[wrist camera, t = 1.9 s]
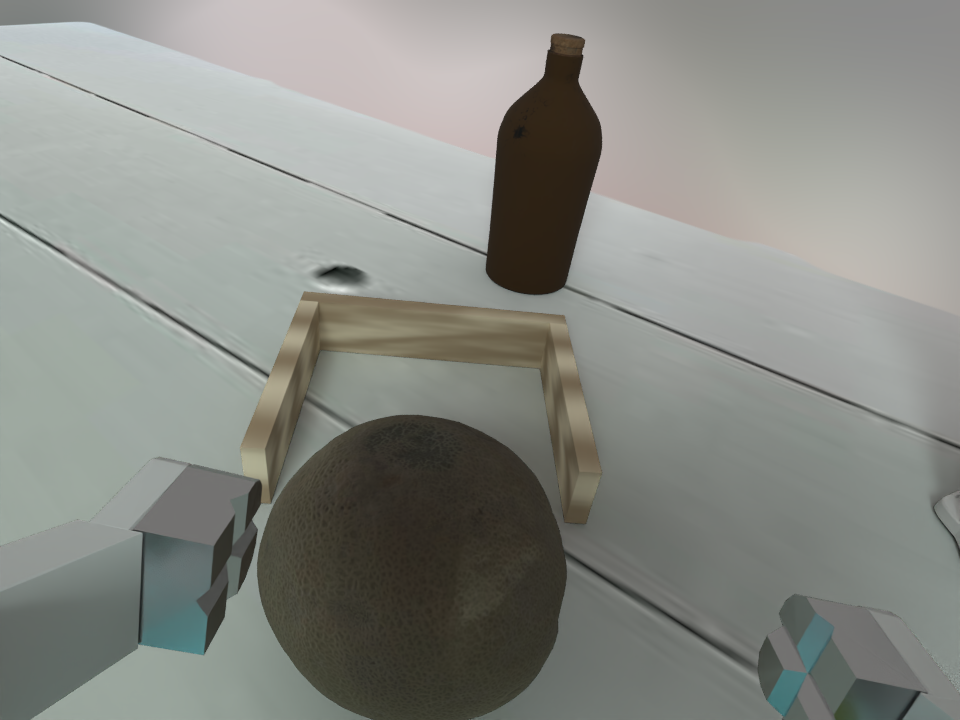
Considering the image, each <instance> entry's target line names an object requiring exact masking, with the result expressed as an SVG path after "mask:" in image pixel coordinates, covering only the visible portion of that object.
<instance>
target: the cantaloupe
mask: <svg viewBox="0 0 960 720" xmlns="http://www.w3.org/2000/svg"><path fill="white" fill-rule="evenodd" d="M257 577H258V585H259V592H260V597H261V602H262V606H263V609H264V612H265V615H266V617H267V620H268V622H269V624H270V626H271V628H272V630H273V632H274V634H275V636H276V638H277V640H278V641H279V643H280V645H281V646H282V648H283V650H284V651H285V652H286V653H287V655H288V656H289V658H290V659H291V661H292V662H293V663H294V665H295V666H296V668H297V669H298V670H299V671H300V672H301V674H302V675H303V676H304V677H305V678H306V679H307V680H308V681H309V682H310V683H311V684H312V685H313V686H314V687H315V688H316V689H317V690H318V691H319V692H320V693H322V694H323V695H324V696H326V697H327V698H328V699H330V700H332V701H333V702H335V703H336V704H338V705H340V706H341V707H343V708H345V709H347V710H349V711H352V712H354V713H356V714H359V715H361V716H364V717H367V718H370V719H373V720H468V719H471V718H475V717H478V716H482V715H485V714H487V713H489V712H492V711H494V710H496V709H497V708H499V707H501V706H503V705H504V704H506V703H508V702H509V701H511V700H512V699H513V698H515V697H516V696H517V695H519V694H520V693H521V692H522V691H523V690H525V689H526V688H527V687H528V686H529V685H530V683H531V682H532V681H533V680H534V679H535V677H536V676H537V675H538V673H539V672H540V670H541V668H542V667H543V665H544V663H545V661H546V660H547V658H548V656H549V654H550V653H551V651H552V649H553V646H554V643H555V641H556V637H557V634H558V617H559V613H560V609H561V604H562V600H563V596H564V592H565V586H566V579H567V569H566V561H565V555H564V550H563V545H562V539H561V535H560V530H559V528H558V525H557V522H556V519H555V517H554V515H553V513H552V510H551V506H550V503H549V501H548V499H547V496H546V494H545V492H544V490H543V488H542V486H541V484H540V483H539V481H538V479H537V477H536V476H535V475H534V473H533V472H532V471H531V470H530V469H529V468H528V466H527V465H526V464H525V463H524V462H523V461H522V460H521V459H520V458H519V457H518V456H517V455H516V454H515V453H514V452H513V451H511V450H510V449H509V448H508V447H506V446H505V445H503V444H502V443H500V442H498V441H497V440H495V439H494V438H492V437H490V436H488V435H486V434H484V433H483V432H481V431H478V430H476V429H474V428H472V427H469V426H467V425H465V424H462V423H460V422H456V421H452V420H448V419H443V418H437V417H430V416H422V415H396V416H390V417H385V418H380V419H376V420H372V421H369V422H366V423H363V424H360V425H357V426H355V427H353V428H351V429H349V430H348V431H346V432H344V433H343V434H341V435H339V436H338V437H336V438H334V439H333V440H332V441H330V442H329V443H328V444H327V445H326V446H324V447H323V448H322V449H321V450H319V451H318V452H316V453H315V454H314V455H313V456H312V457H311V458H310V459H309V460H308V461H307V462H306V463H305V464H304V465H303V466H302V467H301V468H300V469H299V470H298V472H297V473H296V474H295V475H294V476H293V477H292V478H291V479H290V480H289V482H288V483H287V485H286V486H285V487H284V489H283V490H282V492H281V494H280V495H279V497H278V498H277V500H276V502H275V504H274V506H273V508H272V510H271V513H270V515H269V518H268V521H267V524H266V527H265V530H264V533H263V537H262V540H261V543H260V548H259V554H258V562H257Z"/></svg>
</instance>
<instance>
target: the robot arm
mask: <svg viewBox="0 0 960 720" xmlns="http://www.w3.org/2000/svg"><path fill="white" fill-rule="evenodd" d="M261 495H262V483H261V481H260V480H259V479H255V478H251V477H246V476H242V475H238V474H234V473H229V472H225V471H221V470H217V469H212V468H208V467H204V466H199V465H195V464H193V465H192V464H190V463H186V462H181V461H177V460H172V459H167V458H163V457H157V458H153V459H151V460H149V461H148V462H147V463H146V464H145V465H144V466H143V467H142V468H141V469H140V470H139V472H138V473H137V474H136V475H135V476H134V477H133V478H132V479H131V480H130V481H129V482H128V483H127V484H126V485H125V486H124V487H123V488H122V489H121V490H120V491H119V492H118V493H117V494H116V495H115V496H114V497H113V498H112V499H111V500H110V501H109V502H108V503H107V504H106V505H105V506H104V507H103V508H102V509H101V510H100V511H99V512H98V513H97V514H96V515H95V516H94V517H93V518H92V519H91V520H90V521H89V522H88V521H83V520H78V519H77V520H75V521H72V522H69V523H66V524H63V525H60V526H57V527H54V528H51V529H48V530H45V531H43V532H40V533H37V534H34V535H31V536H28V537H25V538H22V539H19V540H16V541H14V542H11V543H8V544H5V545H2V546H0V720H31V719H32V718H34V717H35V716H37V715H38V714H40V713H41V712H43V711H44V710H46V709H47V708H49V707H50V706H52V705H53V704H55V703H56V702H58V701H59V700H61V699H62V698H64V697H65V696H67V695H68V694H70V693H71V692H73V691H74V690H76V689H77V688H79V687H80V686H82V685H83V684H85V683H86V682H88V681H89V680H91V679H92V678H94V677H95V676H97V675H98V674H100V673H101V672H103V671H104V670H106V669H107V668H109V667H110V666H112V665H113V664H115V663H116V662H118V661H119V660H121V659H122V658H124V657H125V656H127V655H128V654H130V653H131V652H133V651H135V650H136V649H138V644H139V645H145V646H151V647H157V648H163V649H169V650H175V651H181V652H187V653H193V654H199V655H204V654H205V652H206V650H207V649H208V647H209V645H210V643H211V641H212V639H213V638H214V636H215V634H216V632H217V630H218V628H219V627H220V625H221V623H222V621H223V619H224V617H225V609H226V600H227V599H229V598H230V597H232V596H234V595H236V594H237V593H238V591H239V589H240V587H241V585H242V583H243V582H244V580H245V577H246V575H247V572H248V569H249V566H250V564H251V561H252V557H253V553H254V549H255V544H256V538H257V531H258V529H257V528H256V526H255V524H254V523H253V521H252V518H253V517H254V515H255V513H256V512H257V510H258V508H259V506H260V505H261ZM934 509H935V512H936V514H937V515H938V517H939V518H940V519H941V521H942V522H943V523H944V525H945V526H946V527H947V528H948V530H949V531H950V532H951V533H952V534H953V536H954V537H955V539H956V541H957V543H958V545H959V548H960V490H959V491H957V492H954V493H952V494H949V495H947V496H944V497H943V498H942V499H941V500H940V501H939V502H938V503H936V504H935V506H934ZM779 615H780V619H781V622H782V627H780V628H779V629H777V630H775V631H774V632H772V633H770V634H769V635H767V637H766V639H765V641H764V643H763V646H762V648H761V650H760V652H759V663H758V674H759V680H760V685H761V688H762V690H763V693H764V695H765V697H766V700H767V701H768V702H769V703H770V704H771V705H772V706H773V707H774V708H775V709H776V710H777V711H778V712H779V713H780V714H781V715H782V716H783V718H782V720H960V693H959V692H958V690H957V689H956V688H955V687H954V685H953V684H952V683H951V681H950V680H949V679H948V678H947V676H946V675H945V674H944V673H943V671H942V670H941V669H940V667H939V666H938V665H937V664H936V662H935V661H934V660H933V658H932V657H931V656H930V655H929V653H928V652H927V651H926V650H925V648H924V647H923V646H922V644H921V643H920V642H919V641H918V639H917V638H916V637H915V635H914V634H913V633H912V632H911V630H910V629H909V628H908V627H907V625H906V624H905V623H904V621H903V620H902V619H901V618H900V617H898V616H896V615H895V614H893V613H892V612H890V611H884V610H879V609H873V608H868V607H862V606H852V605H847V604H842V603H837V602H832V601H827V600H822V599H817V598H812V597H807V596H803V595H798V594H794V595H792V596H791V597H790V598H789V599H787V600H786V601H785V603H784V605H783V607H782V609H781V610H780V612H779Z"/></svg>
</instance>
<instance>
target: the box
mask: <svg viewBox="0 0 960 720" xmlns="http://www.w3.org/2000/svg"><path fill="white" fill-rule="evenodd" d="M320 350H327V351H339V352H350V353H362V354H374V355H386V356H398V357H409V358H421V359H433V360H445V361H457V362H468V363H480V364H492V365H504V366H516V367H527V368H539V369H540V372H541V379H542V385H543V391H544V397H545V403H546V410H547V416H548V422H549V428H550V435H551V441H552V447H553V453H554V460H555V466H556V472H557V478H558V484H559V491H560V497H561V503H562V509H563V516H564V522H565V523H580V524H586V522H587V519H588V515H589V512H590V509H591V506H592V503H593V500H594V497H595V494H596V491H597V488H598V484H599V481H600V478H601V475H602V470H601V466H600V462H599V458H598V454H597V450H596V445H595V441H594V437H593V433H592V429H591V425H590V420H589V416H588V412H587V408H586V404H585V400H584V395H583V391H582V387H581V383H580V379H579V375H578V370H577V366H576V362H575V358H574V354H573V350H572V345H571V341H570V337H569V333H568V329H567V325H566V320H565V316H564V315H554V314H543V313H532V312H521V311H510V310H500V309H489V308H478V307H467V306H456V305H445V304H434V303H424V302H413V301H402V300H391V299H380V298H369V297H358V296H348V295H337V294H326V293H315V292H304V293H303V295H302V298H301V300H300V303H299V305H298V308H297V310H296V313H295V315H294V317H293V320H292V322H291V325H290V327H289V330H288V332H287V334H286V337H285V339H284V342H283V344H282V347H281V349H280V351H279V354H278V356H277V359H276V361H275V364H274V366H273V369H272V371H271V373H270V376H269V378H268V381H267V383H266V386H265V388H264V390H263V393H262V395H261V398H260V400H259V403H258V405H257V408H256V410H255V412H254V415H253V417H252V420H251V422H250V425H249V427H248V429H247V432H246V434H245V437H244V439H243V442H242V444H241V446H240V450H241V457H242V465H243V472H244V476H246V477H251V478H255V479H259V480H260V481H261V483H262V495H261V503H269V504H271V501H272V497H273V494H274V491H275V488H276V485H277V482H278V479H279V476H280V473H281V470H282V466H283V463H284V460H285V457H286V454H287V451H288V448H289V445H290V442H291V438H292V435H293V432H294V429H295V426H296V423H297V420H298V417H299V414H300V410H301V407H302V404H303V401H304V398H305V395H306V392H307V389H308V386H309V383H310V379H311V376H312V373H313V370H314V367H315V364H316V361H317V358H318V355H319V351H320Z"/></svg>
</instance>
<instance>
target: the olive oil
mask: <svg viewBox="0 0 960 720" xmlns="http://www.w3.org/2000/svg"><path fill="white" fill-rule="evenodd" d="M584 44H585V40H584V39H583V38H582V37H578V36H574V35H569V34H553V35H552V36H551V47H550V50H548V54H547V60H546V67H545V74H544V76H543V78H542V79H541V80H540V81H539V82H538V83H537V84H536V85H534V86H533V87H532V88H531V89H530V90H529V91H527V92H526V93H525V94H524V95H523V96H522V97H520V98H519V99H518V100H517V101H516V102H515V103H514V104H513V105H512V106H511V107H510V108H509V110H508V111H507V113H506V114H505V116H504V119H503V121H502V123H501V126H500V129H499V132H498V138H497V151H496V163H495V176H494V188H493V200H492V211H491V223H490V233H489V242H488V251H487V261H486V272H487V274H488V276H489V277H490V279H491V280H492V281H494V282H495V283H496V284H498V285H500V286H502V287H504V288H506V289H509V290H511V291H515V292H519V293H524V294H548V293H552V292H555V291H557V290H559V289H561V288H562V287H563V286H564V285H565V283H566V280H567V276H568V272H569V269H570V265H571V261H572V257H573V253H574V249H575V245H576V241H577V237H578V234H579V230H580V226H581V223H582V219H583V216H584V212H585V208H586V205H587V201H588V198H589V194H590V190H591V187H592V183H593V180H594V177H595V173H596V170H597V166H598V162H599V159H600V155H601V150H602V132H601V125H600V122H599V119H598V117H597V115H596V113H595V112H594V110H593V108H592V106H591V105H590V103H589V101H588V100H587V98H586V96H585V95H584V93H583V91H582V89H581V87H580V85H579V82H578V78H579V74H580V70H581V65H582V60H583V55H582V50H583V47H584Z"/></svg>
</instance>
